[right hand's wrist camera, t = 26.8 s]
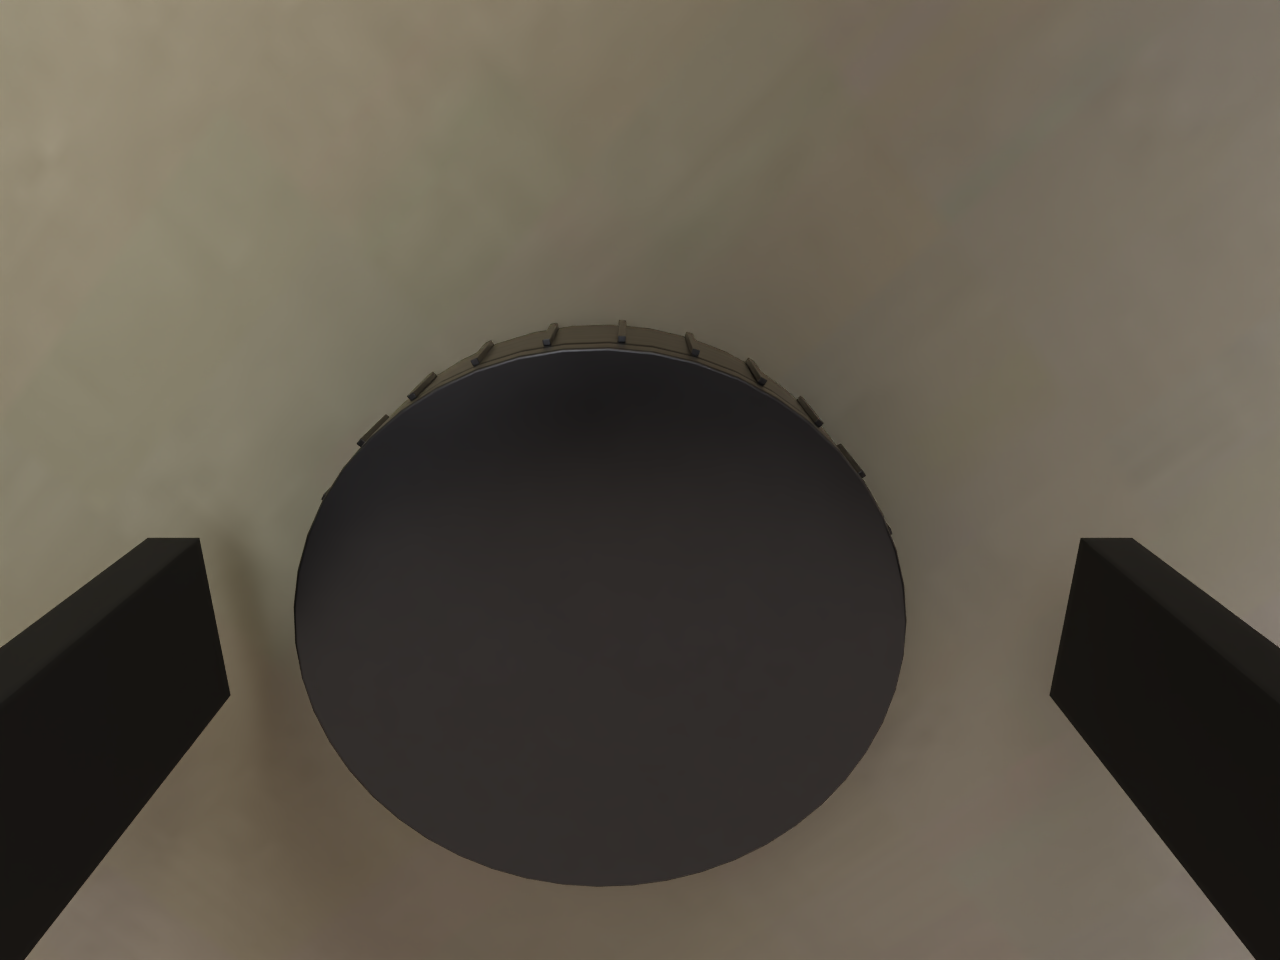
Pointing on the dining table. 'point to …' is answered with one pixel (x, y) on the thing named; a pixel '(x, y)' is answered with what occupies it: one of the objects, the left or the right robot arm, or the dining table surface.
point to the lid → (600, 608)
